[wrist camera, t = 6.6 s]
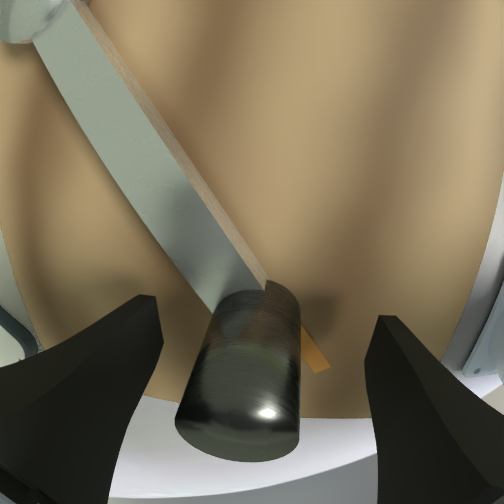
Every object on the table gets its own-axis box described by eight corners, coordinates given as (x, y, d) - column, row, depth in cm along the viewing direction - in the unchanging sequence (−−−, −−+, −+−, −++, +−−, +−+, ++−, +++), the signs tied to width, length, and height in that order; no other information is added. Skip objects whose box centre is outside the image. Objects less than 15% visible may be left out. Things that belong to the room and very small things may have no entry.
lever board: (482, -20, 6) (500, -30, 4) (404, 396, 16) (409, 417, 14) (13, 3, 8) (-7, 0, 7) (63, 353, 18) (51, 368, 16)
